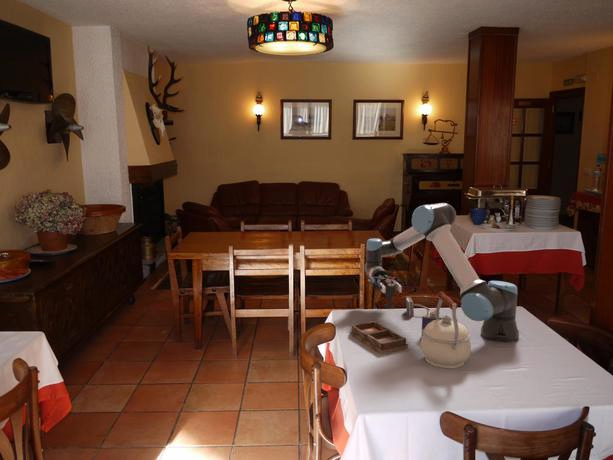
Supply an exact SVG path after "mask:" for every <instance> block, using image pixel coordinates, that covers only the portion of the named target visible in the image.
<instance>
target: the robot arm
mask: <svg viewBox="0 0 613 460" xmlns="http://www.w3.org/2000/svg"><path fill="white" fill-rule="evenodd" d="M412 212H413V213H412V215H411V216H412V217H411V226H410V227H409V228H407V229H406V230H404V231H403V232H401V233H399V234H397V235H396V236H394V237H393V238H391V239H389V240H382V239H381V238H369V239H367V240H366V261H365V264H364V272H365V274H366V275H367V276H368V279H367V280H368V281H367V282H368V284H370V286H371V287H372V289H376V290H377V291H380V290H381V292H382V293H383V294H385V289H386V287H385V286H384V285H383V284H382V283H383V281H385V280H386V279H387V278H388V277H389V276H390V275H389V273H388V272H387V271H386V270H385V269H384V268H383V267H382V265H383V264H382V263H383V257H385V258H386V257H388V256H394V255H395V256H396V255H399V254H401V253H403V252H404V250H405V249H407V248H409V247H411V246H413V245H414V244H416V243H418V242H420V241H422V240H423V239H426V240H427V241H429V242H432V244H433V245H434V248H436V250H437V252H438V253H439V256H440V257H441V258H442V260H443V262H444V264H445V265H446V267H447V269H448V271H449V273H450V274H451V275H452V277H453V279H454V281H455V282H456V284H457V286H458V287H459V289H460V293H459V296H460V298H461V301H460V303H461V304H460V307H461V311H462V312H463V314H464V315H465V316H466V317H467V318H468V319H470V320H472V321H474V322H482V321H483V323H482V326H481V327H480V328H481V329H480V335H481V336H482V337H483V338H485V339H488V340H490V341H495V342H503V343H508V342H509V343H511V342H515V341H517V340H519V338H520V337H519V336H520V332H519V331H520V330H519V329H518V325H517V320H516V319H517V318H516V317H517V304H518V287H517V285H516V284H514V283H511V282H506V281H501V280H490V281H488V283H487V281H486V280H483V279H480V277H479V276H478V274H477V272H476V271H475V269H474V268H473V266H472V265H471V263H470V261H469V260H468V258H467V257H466V255H465V253H464V251H463V250H462V248H461V247H460V245H459V243H458V242H457V240H456V239H455V237H454V235H453V233H451V228H452V226H453V225H454V224H455V222H456V220H457V212H456V210H455V208H454V207H453V206H452V205H451V204H449V203H446V202H438V203H431V204H423V205H419V206H418V207H416V208H415V209H414V211H412ZM392 278H394V281H395V282H396V284H397V286H396V287H395V290H397V292H399V293H403V292H402V289H403V287H404V281H403V280H401V279H400V278H398V276H397V275H393V276H392Z"/></svg>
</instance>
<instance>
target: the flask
mask: <svg viewBox="0 0 613 460" xmlns="http://www.w3.org/2000/svg"><path fill="white" fill-rule="evenodd" d="M442 317H443V315H439V320H441V318H442ZM421 320H422V321H421V331H422V330H423V329H424V328H425V327H426V325H427V324H429V323H430V322H432V321H433V320H436V314H435V313H434V312H433V314H432V315H431V316H430V314H428V315H427V314H425V315H423V316H422V317H421ZM422 336H423V334H422V333H421V337H422Z"/></svg>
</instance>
